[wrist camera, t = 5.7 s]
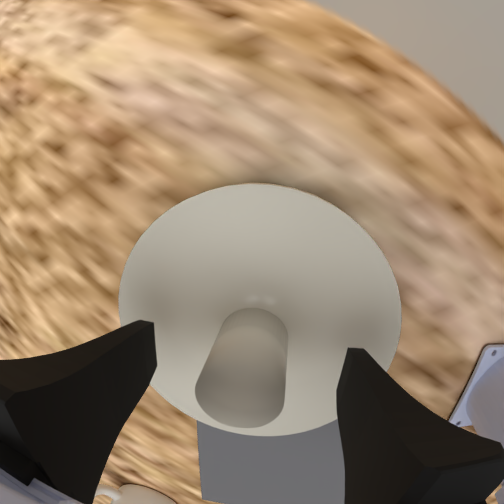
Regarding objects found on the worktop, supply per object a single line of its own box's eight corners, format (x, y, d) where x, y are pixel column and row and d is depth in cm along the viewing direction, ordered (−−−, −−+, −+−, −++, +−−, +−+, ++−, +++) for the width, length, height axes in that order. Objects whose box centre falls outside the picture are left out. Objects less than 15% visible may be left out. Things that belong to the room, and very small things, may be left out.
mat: (412, 409, 20) (413, 413, 19) (353, 508, 24) (354, 511, 24) (197, 392, 21) (195, 397, 21) (203, 495, 26) (202, 499, 25)
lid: (423, 207, 12) (484, 233, 7) (354, 432, 16) (364, 500, 11) (126, 172, 13) (54, 182, 9) (138, 398, 17) (102, 455, 12)
